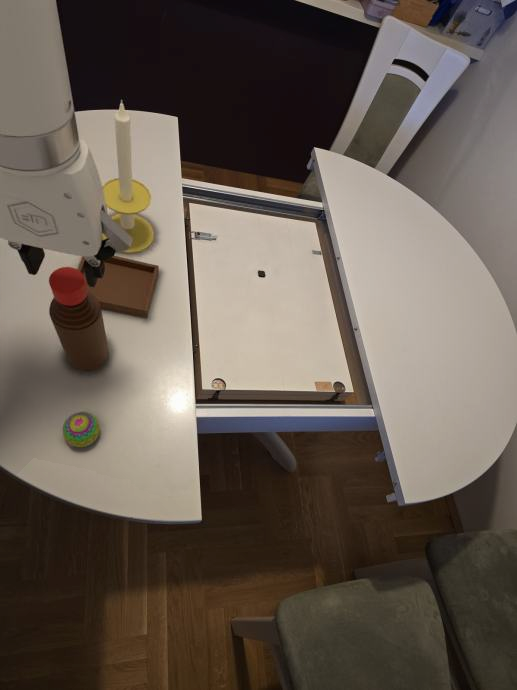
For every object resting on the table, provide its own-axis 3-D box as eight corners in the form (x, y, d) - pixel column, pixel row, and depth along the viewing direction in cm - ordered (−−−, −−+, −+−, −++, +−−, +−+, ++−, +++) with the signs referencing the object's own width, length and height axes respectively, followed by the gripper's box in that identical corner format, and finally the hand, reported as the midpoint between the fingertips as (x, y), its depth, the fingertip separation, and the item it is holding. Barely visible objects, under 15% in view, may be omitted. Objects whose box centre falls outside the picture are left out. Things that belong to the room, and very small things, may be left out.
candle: (112, 208, 79) (99, 68, 56) (160, 224, 80) (167, 94, 57) (92, 243, 74) (69, 106, 51) (144, 260, 75) (144, 133, 52)
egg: (68, 417, 59) (61, 405, 54) (102, 417, 60) (98, 405, 55) (63, 450, 57) (55, 440, 52) (99, 449, 58) (95, 440, 53)
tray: (69, 302, 68) (67, 294, 66) (87, 257, 72) (85, 248, 70) (146, 317, 70) (146, 311, 68) (158, 273, 75) (158, 265, 73)
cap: (48, 301, 48) (43, 289, 45) (58, 276, 49) (54, 263, 47) (82, 308, 48) (78, 296, 46) (91, 283, 50) (88, 271, 48)
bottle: (61, 367, 62) (29, 297, 45) (73, 333, 65) (48, 255, 48) (102, 374, 63) (87, 309, 46) (113, 340, 67) (102, 267, 49)
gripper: (-135, 123, 26) (-29, 280, 42) (127, 189, 29) (134, 313, 45) (-79, 63, 30) (-1, 229, 45) (149, 128, 33) (149, 262, 48)
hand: (66, 270), depth 45 cm, fingers open, 5 cm apart
